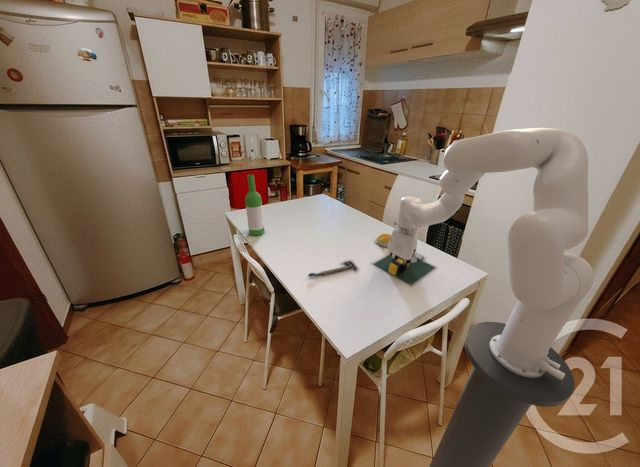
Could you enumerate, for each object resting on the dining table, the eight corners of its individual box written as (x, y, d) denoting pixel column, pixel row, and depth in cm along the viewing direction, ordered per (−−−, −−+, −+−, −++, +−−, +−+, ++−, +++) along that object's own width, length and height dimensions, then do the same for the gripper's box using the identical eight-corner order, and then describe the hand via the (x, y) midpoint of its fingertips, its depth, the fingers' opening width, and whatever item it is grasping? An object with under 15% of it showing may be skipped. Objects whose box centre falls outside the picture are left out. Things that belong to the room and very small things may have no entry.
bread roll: (391, 238, 132) (392, 231, 130) (395, 247, 124) (397, 239, 122) (374, 238, 132) (375, 231, 130) (378, 247, 124) (379, 239, 122)
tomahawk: (350, 262, 113) (350, 260, 113) (357, 270, 108) (357, 267, 107) (304, 271, 107) (304, 268, 106) (309, 279, 101) (309, 276, 101)
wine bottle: (266, 229, 138) (261, 173, 124) (262, 236, 132) (256, 178, 118) (252, 228, 139) (245, 172, 125) (247, 235, 132) (239, 177, 118)
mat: (434, 267, 110) (434, 267, 110) (411, 284, 99) (411, 284, 99) (398, 250, 122) (398, 249, 122) (373, 264, 111) (373, 263, 111)
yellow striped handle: (423, 257, 116) (425, 250, 114) (395, 276, 104) (397, 267, 102) (414, 253, 119) (416, 246, 117) (386, 271, 107) (388, 262, 105)
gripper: (382, 224, 103) (377, 263, 111) (420, 240, 92) (411, 281, 100) (393, 219, 107) (387, 257, 116) (431, 233, 96) (421, 274, 105)
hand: (398, 268), depth 108 cm, fingers closed on yellow striped handle, 3 cm apart
